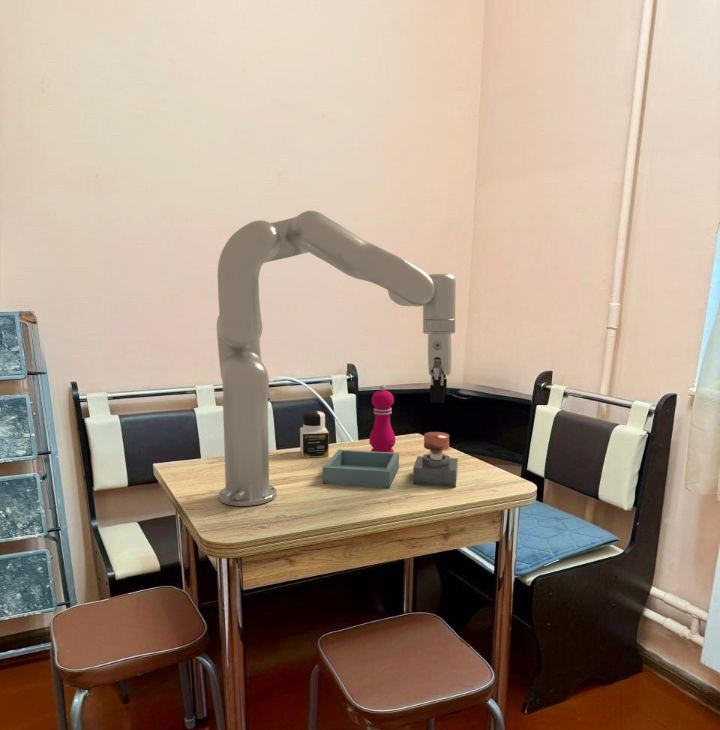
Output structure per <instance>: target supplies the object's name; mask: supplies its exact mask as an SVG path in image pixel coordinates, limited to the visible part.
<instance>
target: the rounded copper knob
mask: <svg viewBox="0 0 720 730" xmlns="http://www.w3.org/2000/svg"><path fill="white" fill-rule="evenodd" d="M423 448H424V449H426V450H429V454H430V459H433V460H441V459H442V454H444V453H443V451H445V450H448V449H450V434H448V433H447V432H441V431H429V432H425V433H424V434H423Z"/></svg>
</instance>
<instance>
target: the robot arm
mask: <svg viewBox="0 0 720 730" xmlns="http://www.w3.org/2000/svg"><path fill="white" fill-rule="evenodd" d="M306 253H310V254H311V255H313V256H315V257H317V258H318V259H319V260H322V261H323V262H325V263H326V264H329V265H331V266H332V267H334V268H336V270H338V271H340V272H342V273H343V274H346V275H347V276H349V277H352V278H354V279H358V280H361V281H366V282H369V283H372V284H375V285H377V286H380V287H382V288H383V289H385V290H387V293H388V296H389V298H390V300H391V301H392V302H394V303H395V304H397V305H399V306H404V307H422V334H425V335H427V362H428V363H427V365H428V375H429V376H431V377H430V378H431V379H430V386H429V393H430V395H429V396H430V399H429V401H430V403H433V404H434V403H438V404H444V403H445V396H446V395H447V394H448V393H447V391H448V388H447V383H448V381H447V380H448V379H447V377H449V376H450V375H451V373H452V337H451V335H452V334H453V335H454V334H455V333H456V289H457V288H456V278H455V276H454V275H453V274H451V273H450V274H449V273H432V274H431V273H430V274H427V273H426V272H424V271H423V270H422V269H420V268H418V267H416V266H415V265H413V264H412V263H410V262H409V261H407V260H405V259H404V258H402V257H399V256H398V255H396V254H394V253H391V252H389V251H388V250H386V249H383V248H381V247H379V246H378V245H376V244H374V243H373V244H372V243H371V242H369V241H366V240H365V239H363V238H362V237H360V236H358V235H356V234H355V233H354V232H353V231H350V230H349V229H347V228H345V227H344V226H342V225H341V224H339V223H338V222H336V221H334V220H332V219H331V218H330V217H329V216H328V217H327V216H326V215H324V214H322V213H321V212H318V211H317V210H316V211H315V210H306V211H302V212H301V213H300V214H298V215H297V216H294V217H291V218H287V219H283V220H279V221H274V222H269V221H266V220H262V219H261V220H253V221H251V222H249V223H247V224H245V225H243V226H242V227H241V228H239V229H238V230H237V231H235V232H234V233H233V234H232V235H231V236H230V237H229V239H228V240H227V241H226V243H225V244H224V247H223V248H222V251H221V253H220V256H219V260H218V265H217V293H218V294H217V295H218V296H217V297H218V299H217V300H218V313H219V315H218V316H217V320H216V337H217V338H216V339H217V348H218V360H219V371H220V378H221V381H222V400H223V401H222V402H223V403H222V406H223V407H222V410H223V411H222V412H223V413H222V415H223V416H222V417H223V418H222V419H223V441H224V442H223V443H224V477H225V479H224V480H225V486H224V487H223V488H222V489H220V490H219V492H218V500H219V501H220V502H221V503H223V504H225V505H229V506H232V507H233V506H234V507H250V506H251V507H252V505H253V506H257V505H263V504H265V503H268V502H270V501H272V500H273V499H275V498H276V496H277V488H276V487H275V486H273V485H272V484H270V468H269V467H270V465H269V464H270V463H269V462H270V460H269V459H270V457H269V453H270V452H269V451H270V450H269V448H270V447H269V392H270V391H269V390H270V385H269V384H270V380H269V373H268V370H267V368H266V366H265V364H264V363H263V362H262V356H261V355H262V354H261V345H260V341H261V340H260V338H261V336H262V333H263V321H262V314H261V306H260V305H261V304H260V303H261V302H260V287H259V286H260V283H259V278H260V277H259V276H260V273H261V272H260V271H261V269H262V266H263V265H264V264H266V263H269V262H270V263H271V262H274V261H279V260H283V259H287V258H291V257H292V258H293V257H296V256H300V255H303V254H306Z"/></svg>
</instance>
